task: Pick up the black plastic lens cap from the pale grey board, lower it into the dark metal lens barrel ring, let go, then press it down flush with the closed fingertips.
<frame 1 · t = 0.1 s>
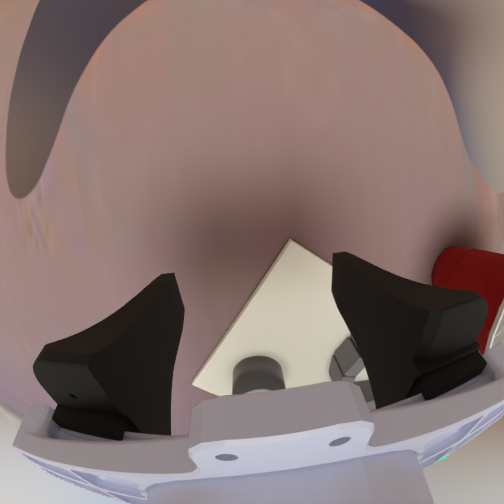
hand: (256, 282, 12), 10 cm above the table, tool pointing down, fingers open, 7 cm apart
board: (325, 363, 26), on the table
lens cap: (257, 374, 25), point 1 cm above the table, touching board
plastic cup: (449, 269, 24), on the table
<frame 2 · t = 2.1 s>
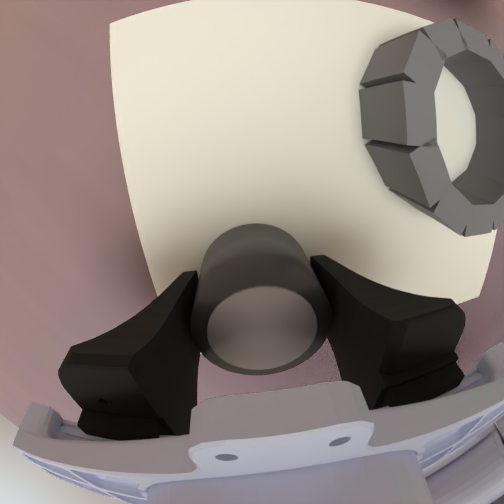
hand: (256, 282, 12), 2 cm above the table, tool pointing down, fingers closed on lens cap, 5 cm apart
board: (368, 176, 12), on the table
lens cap: (254, 273, 13), point 1 cm above the table, touching board, gripper
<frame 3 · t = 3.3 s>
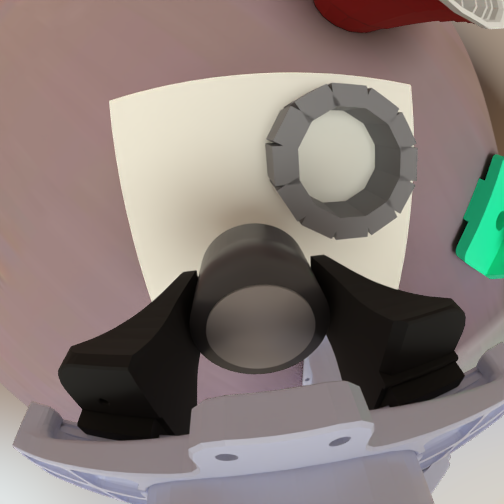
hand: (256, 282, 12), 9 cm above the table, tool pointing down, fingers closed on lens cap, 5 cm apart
board: (278, 198, 19), on the table
camera mount: (484, 211, 21), on the table
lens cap: (253, 273, 13), point 8 cm above the table, touching gripper
plastic cup: (348, 3, 13), on the table
when the fingers open (5 cm above the table, at t = 4.9 s): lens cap drops 3 cm, resting on board.
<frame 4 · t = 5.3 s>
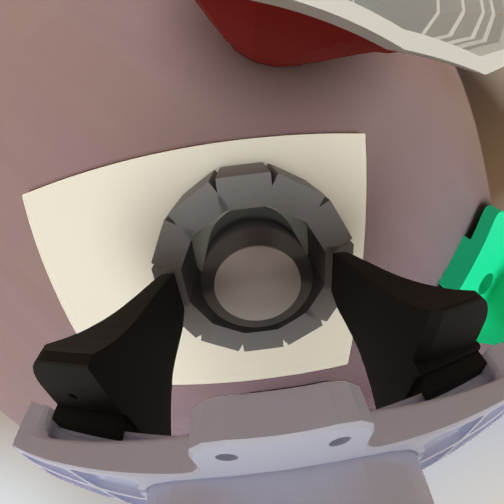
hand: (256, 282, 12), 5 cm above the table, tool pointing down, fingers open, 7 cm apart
board: (194, 290, 18), on the table
camera mount: (468, 269, 19), on the table
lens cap: (252, 247, 16), point 1 cm above the table, touching board
plastic cup: (278, 23, 11), on the table
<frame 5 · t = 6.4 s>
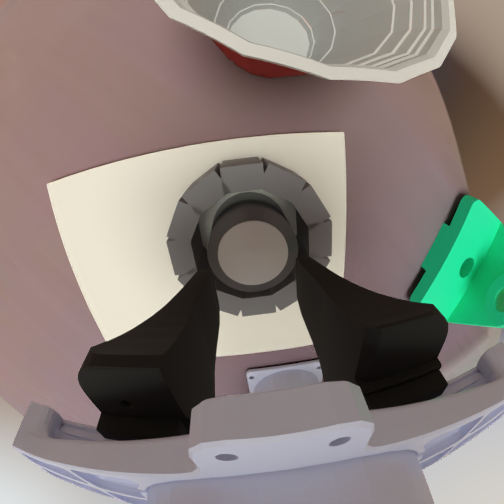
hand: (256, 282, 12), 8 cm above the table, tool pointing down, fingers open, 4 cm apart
board: (200, 267, 20), on the table
camera mount: (450, 254, 22), on the table
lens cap: (249, 227, 18), point 1 cm above the table, touching board
plastic cup: (271, 39, 14), on the table
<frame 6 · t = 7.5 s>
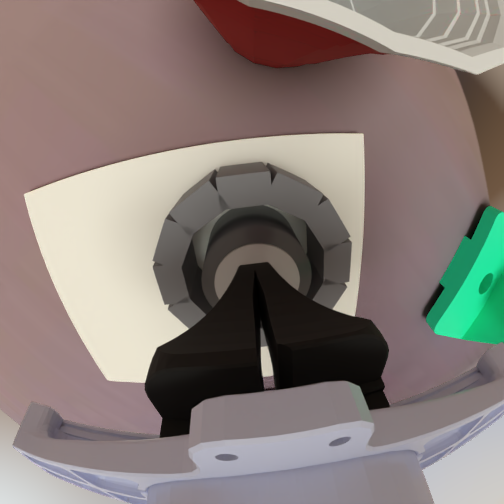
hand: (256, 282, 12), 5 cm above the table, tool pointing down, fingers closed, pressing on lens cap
board: (195, 288, 18), on the table
camera mount: (468, 269, 19), on the table
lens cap: (251, 245, 16), point 1 cm above the table, touching board, gripper
plastic cup: (277, 25, 11), on the table
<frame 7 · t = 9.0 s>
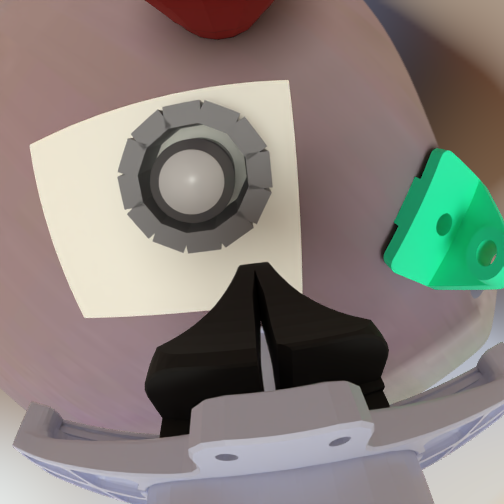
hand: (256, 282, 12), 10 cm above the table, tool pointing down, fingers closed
board: (157, 215, 21), on the table
camera mount: (427, 214, 22), on the table
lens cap: (199, 171, 19), point 1 cm above the table, touching board
plastic cup: (222, 9, 14), on the table
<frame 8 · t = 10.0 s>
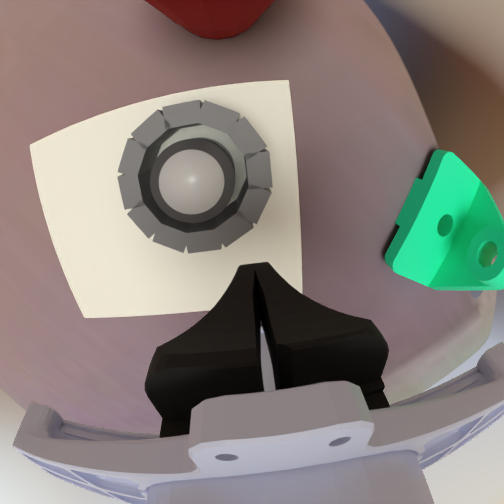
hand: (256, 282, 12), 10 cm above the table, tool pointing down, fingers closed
board: (157, 215, 21), on the table
camera mount: (428, 215, 22), on the table
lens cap: (199, 171, 19), point 1 cm above the table, touching board
plastic cup: (222, 9, 14), on the table
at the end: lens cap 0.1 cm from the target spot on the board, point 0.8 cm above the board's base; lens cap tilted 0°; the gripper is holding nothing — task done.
